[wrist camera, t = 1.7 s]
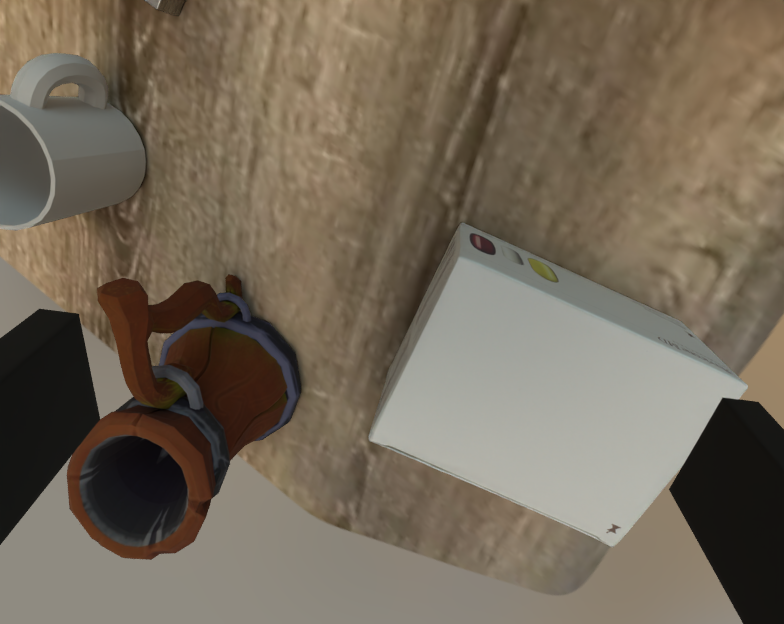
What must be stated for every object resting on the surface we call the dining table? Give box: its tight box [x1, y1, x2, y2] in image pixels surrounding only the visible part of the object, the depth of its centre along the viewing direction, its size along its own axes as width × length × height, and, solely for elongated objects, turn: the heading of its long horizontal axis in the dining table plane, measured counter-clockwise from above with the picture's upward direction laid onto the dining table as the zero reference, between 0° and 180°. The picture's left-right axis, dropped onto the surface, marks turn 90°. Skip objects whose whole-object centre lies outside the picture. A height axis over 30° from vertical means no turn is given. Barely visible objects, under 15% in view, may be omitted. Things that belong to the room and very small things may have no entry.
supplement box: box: [369, 223, 748, 547], centre depth 33 cm, size 17×13×9 cm
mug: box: [67, 274, 301, 560], centre depth 33 cm, size 18×12×15 cm, turn 173°
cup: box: [0, 53, 146, 230], centre depth 31 cm, size 7×10×9 cm
